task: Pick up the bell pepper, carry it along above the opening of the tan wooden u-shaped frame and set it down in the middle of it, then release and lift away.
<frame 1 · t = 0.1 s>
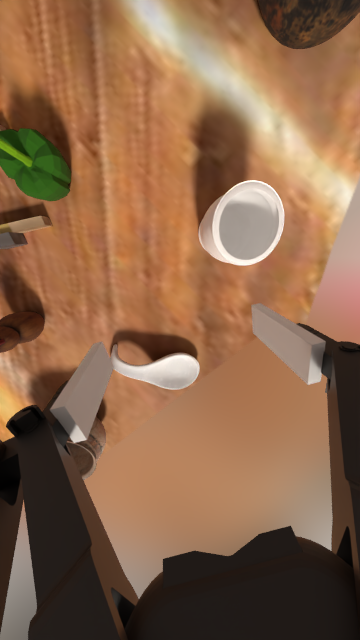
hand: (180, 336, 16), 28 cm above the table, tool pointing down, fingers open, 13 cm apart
bell pepper: (55, 178, 32), on the table
spoon rest: (156, 359, 50), on the table
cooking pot: (79, 418, 55), on the table
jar: (216, 233, 39), on the table
wooden figurine: (34, 319, 42), on the table
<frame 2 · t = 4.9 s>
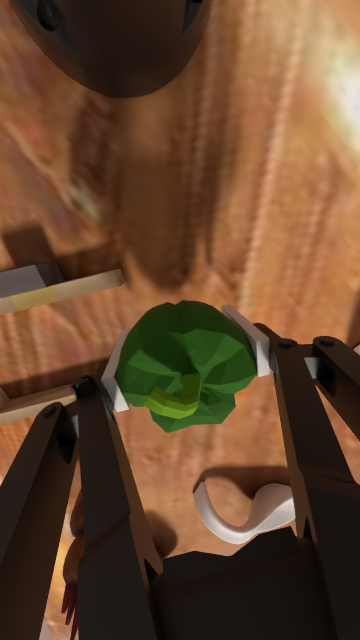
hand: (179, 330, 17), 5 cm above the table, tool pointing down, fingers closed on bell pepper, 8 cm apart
bell pepper: (178, 326, 17), point 5 cm above the table, touching gripper
spoon rest: (246, 488, 38), on the table
tan wooden u-shaped frame: (87, 339, 22), on the table
wooden figurine: (107, 469, 31), on the table
when the fingers open (1 cm above the table, at t = 9.3 s): bell pepper drops 1 cm, resting in tan wooden u-shaped frame.
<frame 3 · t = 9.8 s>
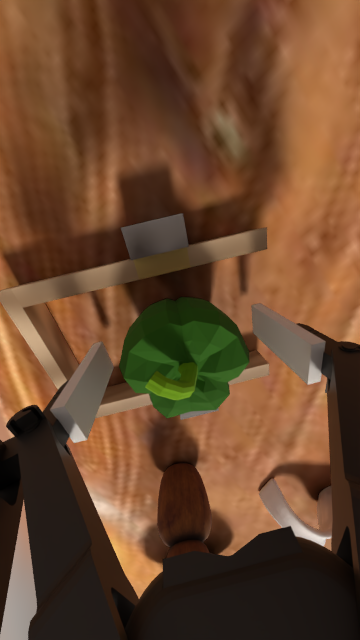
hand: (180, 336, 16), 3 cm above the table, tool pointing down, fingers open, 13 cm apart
bell pepper: (177, 322, 18), resting in tan wooden u-shaped frame
spoon rest: (310, 487, 35), on the table
tan wooden u-shaped frame: (192, 320, 18), on the table
wooden figurine: (179, 467, 28), on the table
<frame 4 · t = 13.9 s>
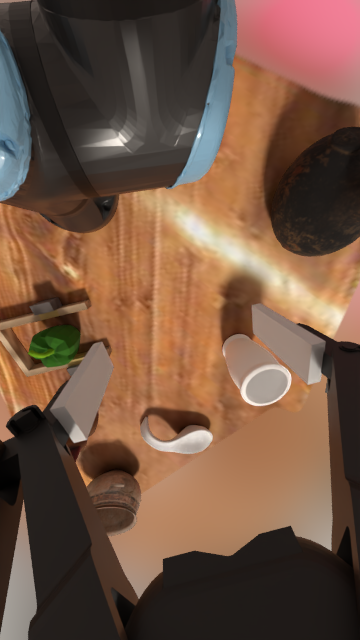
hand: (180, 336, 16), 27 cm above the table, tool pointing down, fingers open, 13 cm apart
glass bottle: (298, 208, 37), on the table
bell pepper: (68, 333, 43), resting in tan wooden u-shaped frame
spoon rest: (176, 427, 60), on the table
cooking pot: (116, 474, 65), on the table
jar: (236, 346, 49), on the table
tan wooden u-shaped frame: (74, 333, 43), on the table
wooden figurine: (89, 409, 52), on the table
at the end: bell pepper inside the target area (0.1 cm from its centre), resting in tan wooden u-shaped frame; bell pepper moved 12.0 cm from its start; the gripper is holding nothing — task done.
